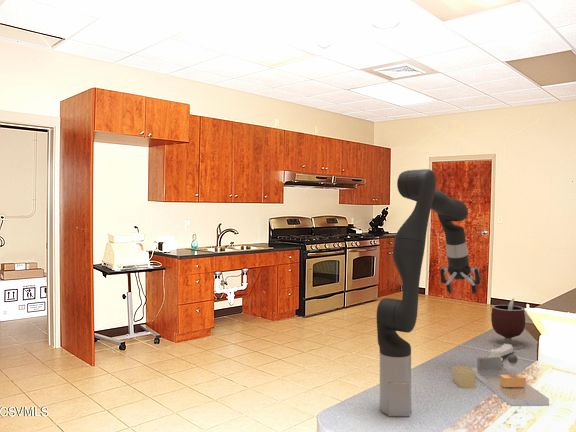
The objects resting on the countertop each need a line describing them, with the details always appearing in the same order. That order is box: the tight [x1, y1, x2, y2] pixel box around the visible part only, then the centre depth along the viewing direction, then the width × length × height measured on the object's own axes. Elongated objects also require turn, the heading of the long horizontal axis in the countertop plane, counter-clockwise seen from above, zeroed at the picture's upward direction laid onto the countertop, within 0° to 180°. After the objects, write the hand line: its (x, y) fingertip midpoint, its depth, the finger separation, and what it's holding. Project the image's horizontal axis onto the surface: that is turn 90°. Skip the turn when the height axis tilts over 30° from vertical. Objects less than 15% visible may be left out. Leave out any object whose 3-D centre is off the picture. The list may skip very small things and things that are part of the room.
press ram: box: [500, 353, 527, 387], centre depth 154 cm, size 3×7×10 cm, turn 91°
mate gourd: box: [490, 298, 526, 350], centre depth 211 cm, size 16×14×20 cm
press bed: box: [470, 356, 550, 406], centre depth 159 cm, size 30×12×6 cm, turn 1°
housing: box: [451, 365, 476, 389], centre depth 162 cm, size 8×5×5 cm, turn 0°
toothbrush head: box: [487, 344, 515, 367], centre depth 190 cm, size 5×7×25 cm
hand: (462, 293), depth 180 cm, fingers open, 8 cm apart
